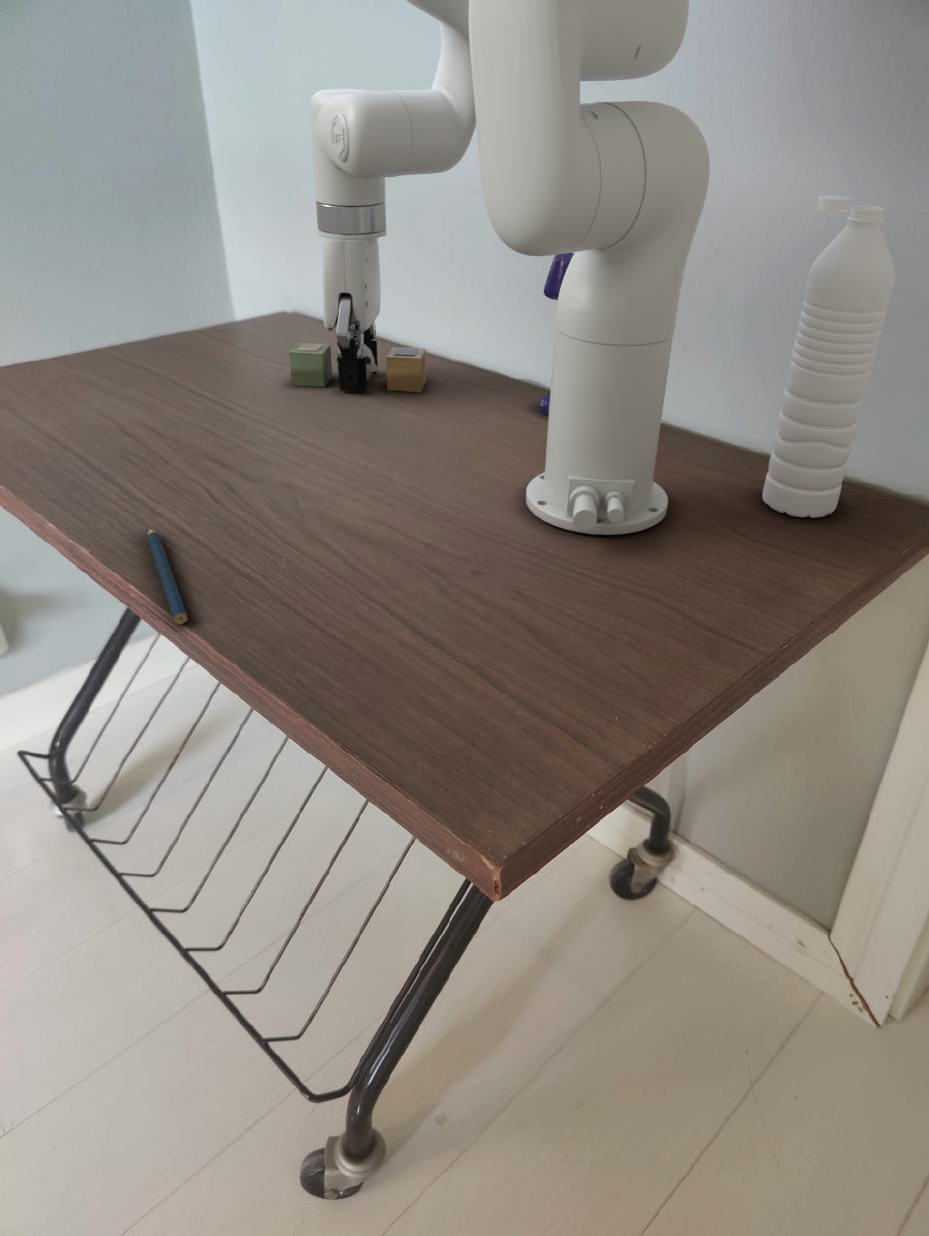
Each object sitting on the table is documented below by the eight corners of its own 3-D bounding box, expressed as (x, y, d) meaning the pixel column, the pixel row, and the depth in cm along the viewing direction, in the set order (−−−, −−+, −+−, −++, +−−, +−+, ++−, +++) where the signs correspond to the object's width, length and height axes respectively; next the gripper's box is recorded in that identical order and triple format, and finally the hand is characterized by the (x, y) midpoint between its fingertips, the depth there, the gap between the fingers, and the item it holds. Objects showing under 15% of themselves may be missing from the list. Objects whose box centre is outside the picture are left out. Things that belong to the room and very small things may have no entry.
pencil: (189, 615, 64) (157, 525, 76) (176, 611, 64) (146, 521, 75) (184, 625, 65) (153, 534, 76) (171, 621, 64) (142, 530, 76)
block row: (420, 392, 107) (420, 357, 105) (291, 385, 108) (288, 351, 106) (425, 381, 111) (425, 347, 108) (300, 375, 112) (297, 341, 110)
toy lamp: (585, 415, 102) (600, 257, 93) (549, 421, 100) (560, 260, 91) (563, 401, 105) (575, 248, 96) (528, 407, 104) (536, 251, 95)
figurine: (372, 392, 107) (371, 349, 104) (332, 388, 108) (329, 346, 105) (384, 379, 111) (383, 338, 108) (345, 375, 112) (343, 334, 109)
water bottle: (850, 515, 81) (933, 211, 68) (786, 522, 80) (857, 213, 66) (796, 476, 88) (860, 194, 75) (735, 482, 87) (790, 195, 73)
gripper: (335, 206, 107) (343, 358, 117) (297, 232, 93) (310, 404, 103) (398, 208, 107) (401, 361, 116) (370, 235, 92) (376, 407, 102)
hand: (359, 380), depth 109 cm, fingers open, 5 cm apart
